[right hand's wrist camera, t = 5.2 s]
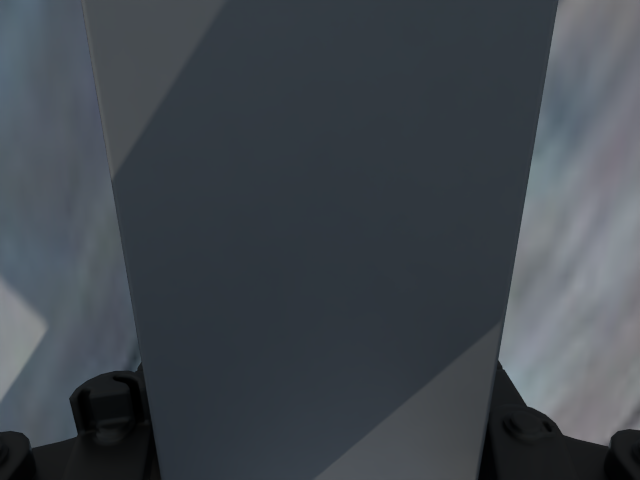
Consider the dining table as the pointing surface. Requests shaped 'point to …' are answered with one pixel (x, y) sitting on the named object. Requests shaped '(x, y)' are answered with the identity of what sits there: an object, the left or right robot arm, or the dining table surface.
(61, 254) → the dining table surface
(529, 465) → the right robot arm
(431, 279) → the bar
